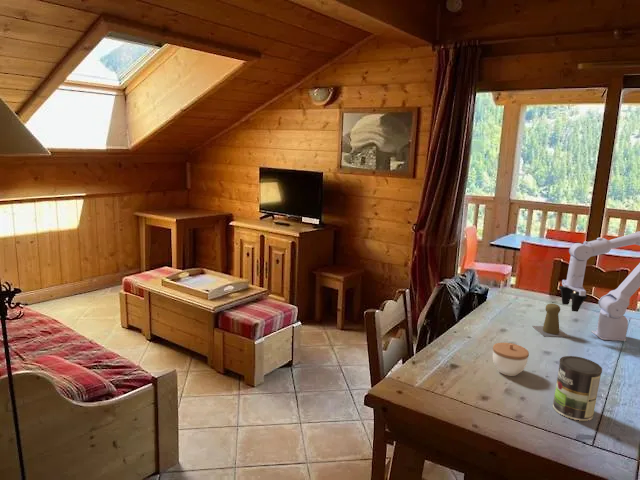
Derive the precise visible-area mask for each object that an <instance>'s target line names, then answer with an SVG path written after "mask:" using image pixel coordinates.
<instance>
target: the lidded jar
mask: <svg viewBox="0 0 640 480" xmlns="http://www.w3.org/2000/svg"><path fill="white" fill-rule="evenodd" d="M529 353H530V352H529V351H528V349H526V347H524V346H521V345H519V344H516V343H513V342H512V343H510V342H497V343H494V344H493V346H492V361H493V364H494V367H495V368H496V370H497V371H498V372H499V373H500V374H502V375H505V376H509V377H515V376H518V375H519V374H520V373H522V372H524V370H525V368H526V367H527V364H528V360H529V359H528V358H529Z"/></svg>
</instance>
